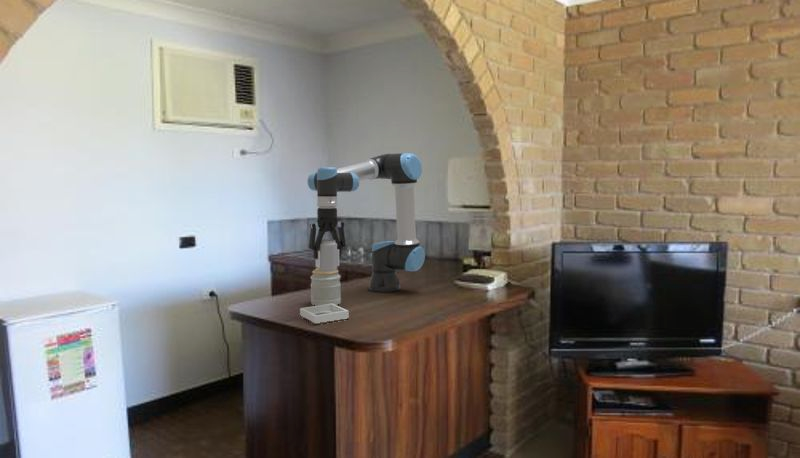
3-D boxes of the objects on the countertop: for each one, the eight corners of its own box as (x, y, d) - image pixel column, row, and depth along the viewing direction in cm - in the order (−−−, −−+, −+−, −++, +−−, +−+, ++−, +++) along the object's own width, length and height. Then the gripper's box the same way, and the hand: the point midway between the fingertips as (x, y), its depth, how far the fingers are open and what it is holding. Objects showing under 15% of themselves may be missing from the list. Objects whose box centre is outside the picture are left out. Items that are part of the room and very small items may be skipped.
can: (333, 272, 206) (333, 241, 205) (315, 271, 208) (314, 240, 207) (339, 269, 214) (339, 239, 213) (321, 268, 215) (321, 238, 214)
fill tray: (300, 317, 213) (299, 308, 212) (332, 311, 220) (332, 303, 220) (315, 325, 201) (315, 316, 201) (348, 319, 209) (348, 310, 208)
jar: (346, 301, 238) (345, 261, 236) (333, 308, 226) (332, 266, 224) (319, 299, 242) (318, 260, 240) (305, 306, 230) (304, 264, 228)
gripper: (306, 208, 200) (307, 270, 202) (355, 207, 211) (355, 265, 213) (298, 207, 206) (299, 267, 208) (346, 206, 217) (346, 262, 219)
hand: (327, 266), depth 211 cm, fingers closed on can, 7 cm apart
